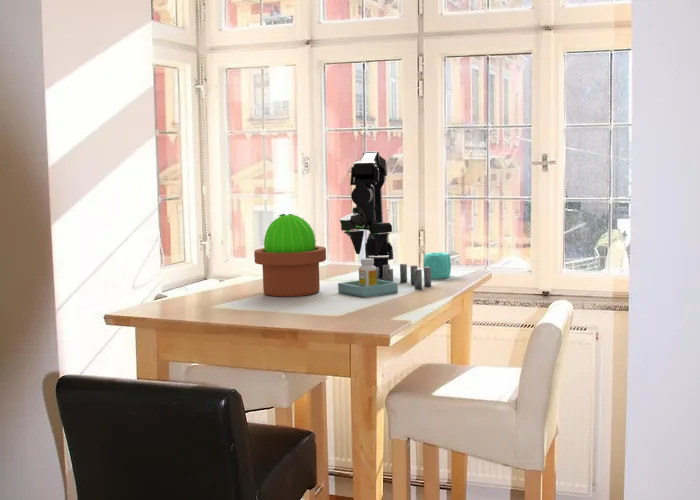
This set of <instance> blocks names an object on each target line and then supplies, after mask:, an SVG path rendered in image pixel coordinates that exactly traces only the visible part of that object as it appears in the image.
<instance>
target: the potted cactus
mask: <svg viewBox="0 0 700 500" xmlns="http://www.w3.org/2000/svg"><path fill="white" fill-rule="evenodd" d="M314 232H315V230H314V229H313V227H311V224H309V222H308V221H306V219H305V218H304V217H300V216H298V215H297V214H294V213H288V214H287V215H286V214H285V213H281V214H280V215H277V218H276V219H275V217H274V220H272V222H271V223H269V226H268V227H267V230H266V231H265V235H264V239H262V240H263V241H262V242H263V247H261V248H258V249H255V250H254V251H253V252H254V263H255V264H256V265H262V266H261V267H262V285H263V286H262V287H263V288H262V289H263V294H264V295H266V296H269V297H279V298H280V297H282V298H283V297H285V298H287V297H291V298H292V297H302V296H310V295H314V294H316V293H318V292H319V291H320V290H321V289H320V287H321V285H320V263H322V262H325V261H326V260H327V248H326V247H325V246H321V245H317V244H316V243H317V240H316V235H317V234H316V233H314Z"/></svg>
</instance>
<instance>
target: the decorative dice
mask: <svg viewBox="0 0 700 500" xmlns="http://www.w3.org/2000/svg"><path fill="white" fill-rule="evenodd" d="M451 261H452V260H451V255H450V253H448V252H428V253H425V254H424V258H423V268H424V267H431V280H438V279H439V280H442V279H441V278H444V279H449V278H450V276H451V272H452V270H451V269H452V262H451Z"/></svg>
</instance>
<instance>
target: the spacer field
mask: <svg viewBox="0 0 700 500" xmlns="http://www.w3.org/2000/svg"><path fill="white" fill-rule="evenodd" d="M390 266H391V265H390V264H389V265H383V278H382V280H384V281H390V282H394V268H391V267H390ZM407 266H408V264H407V263H399V271H400V272H399V274H400V275H399V277H400V279H399V281H400V283H401V284H405V283H408V267H407ZM422 271H423V272H422ZM422 273H423V275H422ZM376 274H377V280H380V279H379V267H376ZM423 283H424V284H423ZM410 285H412V286H414V289H415V290H422V289H423V287H425V288H428V287H429V288H430V287H432V279H431V267H424V266H423V270H422V269H421V268H418V265H410ZM423 285H424V286H423Z"/></svg>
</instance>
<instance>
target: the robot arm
mask: <svg viewBox="0 0 700 500" xmlns="http://www.w3.org/2000/svg"><path fill="white" fill-rule="evenodd" d="M387 165H388V164H387V161H386V159H385V158H383V156H381V155H380V152H379V151H377V150H376V151H375V150H374V151H373V150H372V151H370V150H369V151H368V150H367V151H364V152H363V153H362V158H361V160H360V161H355V162H354V163H353V165H352V166H351V168H350V170H351V171H350V182H349V183H350V186H355V188H353V189H352V191H351V195H350V196H351V200H352V201H351V202H353V203H354V204H355V207H352V212H351V213H349V214H347V215H345V216H343V217H341V218H340V219H339V222H340V226H341V227H340V230H341V231H343V234H346V235H347V236H348V237H349V238H350V240H351V243H352V245H353V249H354V251H355V254H356V255H359V254H360V253H361V250H362V245H363V238H364V234H365V231H369V233H368V236H367V239H366V242H365V245H364V247H365V249H364V252H365V259H366V258H371V259H374V264H373V266H375V267H379V280H381V279H383V265H390V263H389V261H391V260H394V250H393V246H392V244H391V242H390V241H389V236H390V233H392V232H393V225H392V224H391V223H390V222H384V217H383V215H384V214H383V213H384V212H383V197H382V196H383V194H382V192H383V191H382V188H383V185H384V184H385V181H386V179H387V178H386V177H387V176H388V166H387Z"/></svg>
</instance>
